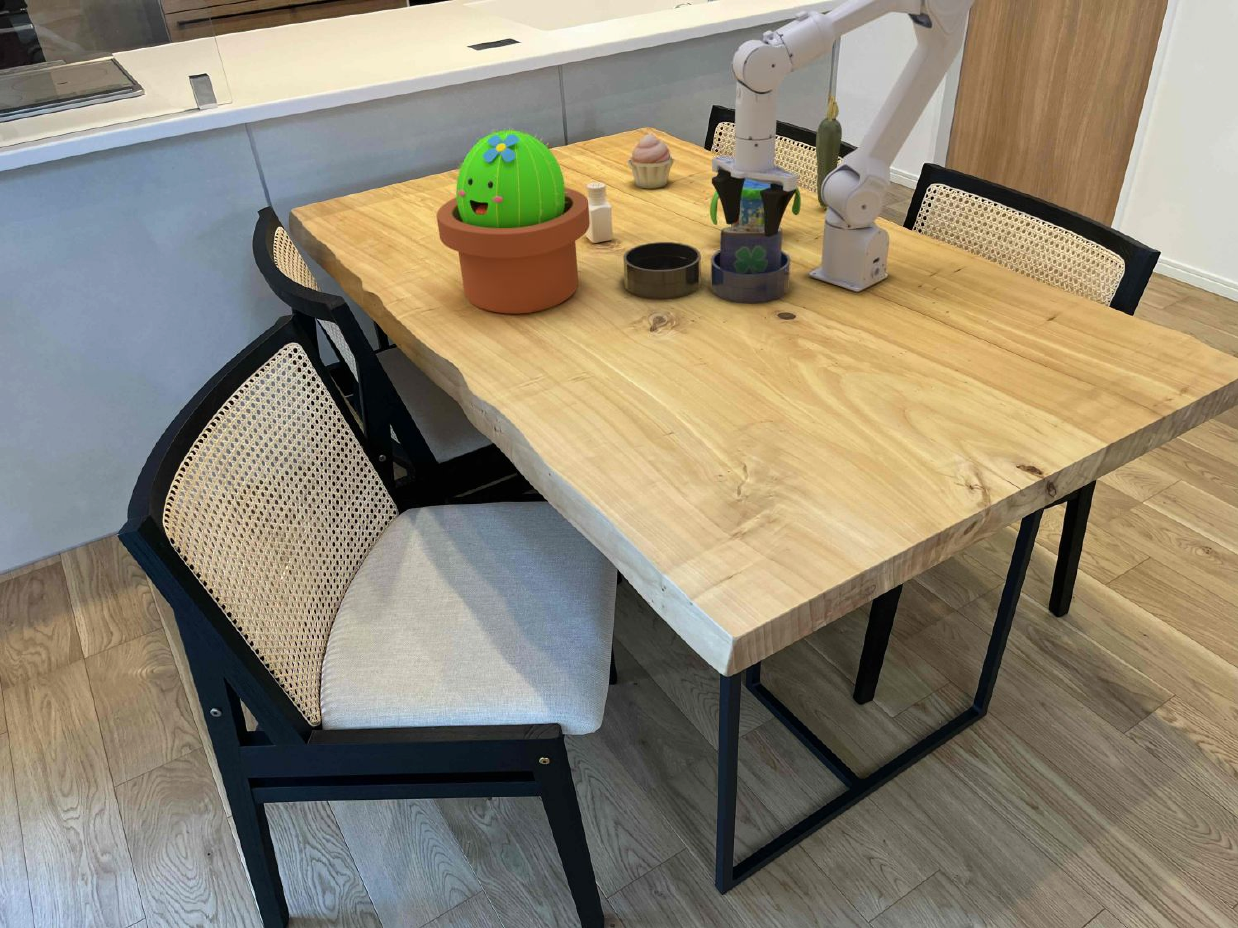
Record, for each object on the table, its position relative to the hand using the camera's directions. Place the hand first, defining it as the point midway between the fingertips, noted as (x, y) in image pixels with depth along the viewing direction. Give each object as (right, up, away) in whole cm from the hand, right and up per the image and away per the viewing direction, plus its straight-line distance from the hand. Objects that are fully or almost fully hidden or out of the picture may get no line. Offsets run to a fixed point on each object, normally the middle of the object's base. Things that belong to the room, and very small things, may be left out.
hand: (751, 228), depth 138 cm
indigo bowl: (0, -8, +5) cm, 9 cm away
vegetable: (+18, +11, +32) cm, 39 cm away
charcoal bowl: (-13, -7, +8) cm, 16 cm away
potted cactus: (-35, -8, +8) cm, 37 cm away
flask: (0, -8, +5) cm, 9 cm away
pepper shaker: (-23, +4, +25) cm, 34 cm away
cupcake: (-13, +21, +49) cm, 55 cm away
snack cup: (+4, +4, +22) cm, 23 cm away
